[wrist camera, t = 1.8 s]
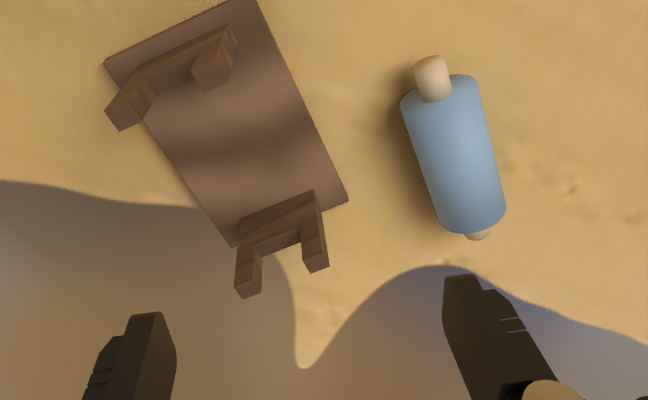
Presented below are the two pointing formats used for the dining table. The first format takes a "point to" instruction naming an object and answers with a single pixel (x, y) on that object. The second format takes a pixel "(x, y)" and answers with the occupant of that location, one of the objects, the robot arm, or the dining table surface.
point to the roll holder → (233, 132)
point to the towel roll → (454, 148)
